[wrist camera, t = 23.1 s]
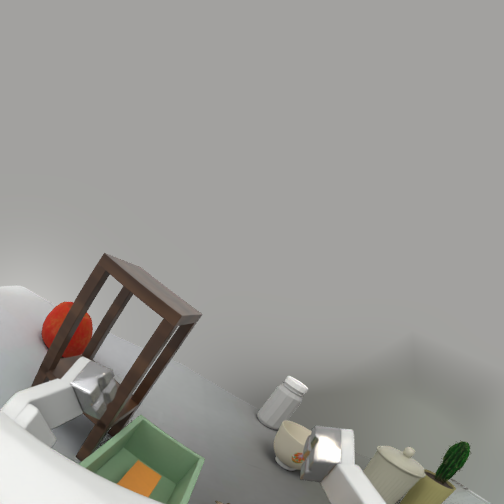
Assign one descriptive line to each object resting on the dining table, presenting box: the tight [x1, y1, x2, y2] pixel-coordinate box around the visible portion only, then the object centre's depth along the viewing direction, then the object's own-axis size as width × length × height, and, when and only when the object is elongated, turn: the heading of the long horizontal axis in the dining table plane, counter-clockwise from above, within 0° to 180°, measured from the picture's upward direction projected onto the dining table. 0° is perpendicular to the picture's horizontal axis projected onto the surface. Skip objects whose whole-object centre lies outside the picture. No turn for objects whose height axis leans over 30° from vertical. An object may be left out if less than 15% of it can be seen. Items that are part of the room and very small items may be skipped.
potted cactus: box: [400, 442, 470, 504], centre depth 60 cm, size 15×15×30 cm
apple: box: [42, 302, 93, 358], centre depth 52 cm, size 11×11×11 cm
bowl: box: [274, 420, 311, 471], centre depth 66 cm, size 16×16×10 cm
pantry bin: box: [79, 415, 205, 504], centre depth 24 cm, size 28×12×8 cm, turn 179°
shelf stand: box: [31, 253, 202, 462], centre depth 36 cm, size 12×12×26 cm
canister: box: [363, 446, 426, 504], centre depth 60 cm, size 18×18×21 cm
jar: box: [257, 376, 308, 430], centre depth 93 cm, size 10×10×18 cm
